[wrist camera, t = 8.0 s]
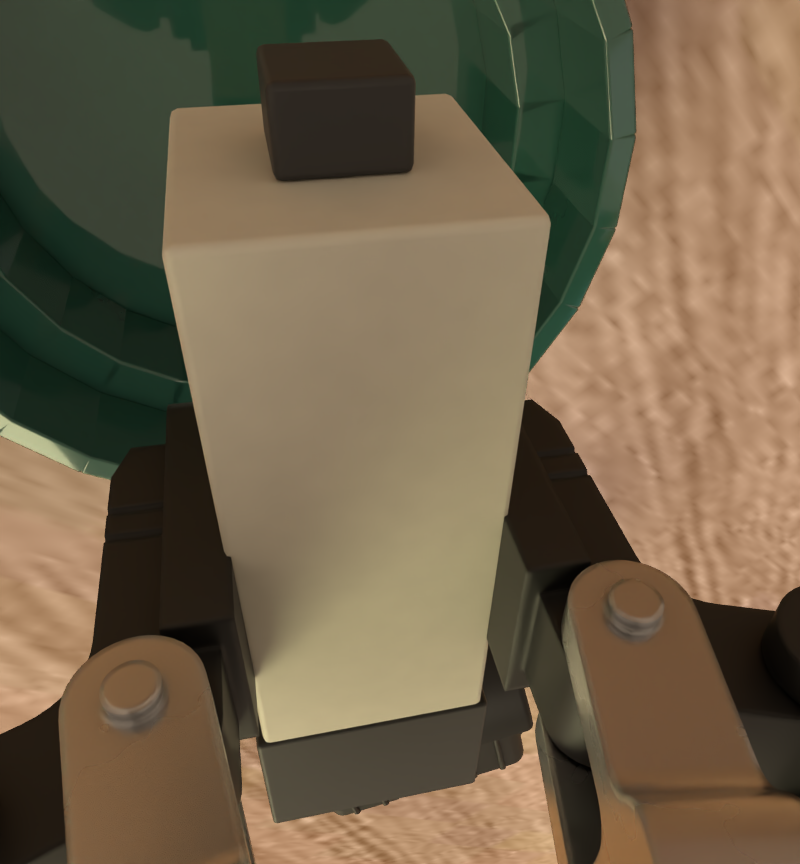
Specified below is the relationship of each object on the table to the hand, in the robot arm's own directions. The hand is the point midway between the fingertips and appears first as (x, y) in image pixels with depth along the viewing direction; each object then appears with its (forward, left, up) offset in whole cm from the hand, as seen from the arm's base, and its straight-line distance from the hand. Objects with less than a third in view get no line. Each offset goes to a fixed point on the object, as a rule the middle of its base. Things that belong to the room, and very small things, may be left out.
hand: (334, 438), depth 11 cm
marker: (0, 0, 0) cm, 0 cm away
